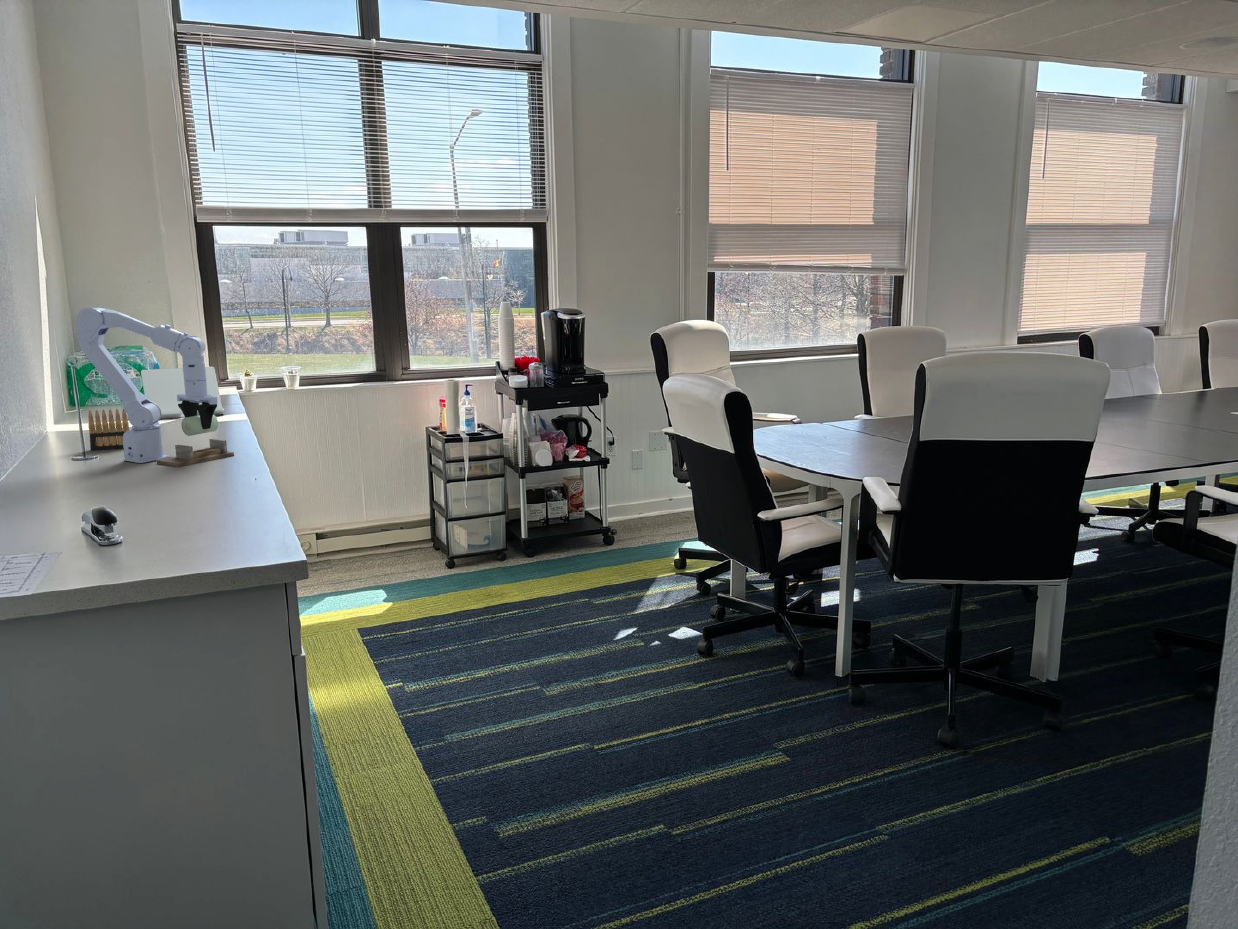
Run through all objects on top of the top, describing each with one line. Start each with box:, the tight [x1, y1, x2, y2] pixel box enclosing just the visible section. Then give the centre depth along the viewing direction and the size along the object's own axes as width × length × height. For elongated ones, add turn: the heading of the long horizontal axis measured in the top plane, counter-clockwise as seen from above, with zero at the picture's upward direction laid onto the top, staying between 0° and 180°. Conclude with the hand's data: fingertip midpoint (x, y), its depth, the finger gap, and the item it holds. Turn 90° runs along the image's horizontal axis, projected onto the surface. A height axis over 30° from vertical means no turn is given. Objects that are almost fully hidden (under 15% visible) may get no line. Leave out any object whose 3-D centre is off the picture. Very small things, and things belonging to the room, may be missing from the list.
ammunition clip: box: [88, 407, 130, 452], centre depth 272 cm, size 11×2×12 cm, turn 114°
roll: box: [181, 415, 219, 437], centre depth 259 cm, size 8×5×5 cm, turn 153°
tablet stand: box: [140, 366, 225, 420], centre depth 337 cm, size 18×25×17 cm
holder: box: [156, 438, 235, 468], centre depth 257 cm, size 18×9×4 cm, turn 151°
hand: (199, 428), depth 259 cm, fingers closed on roll, 5 cm apart
